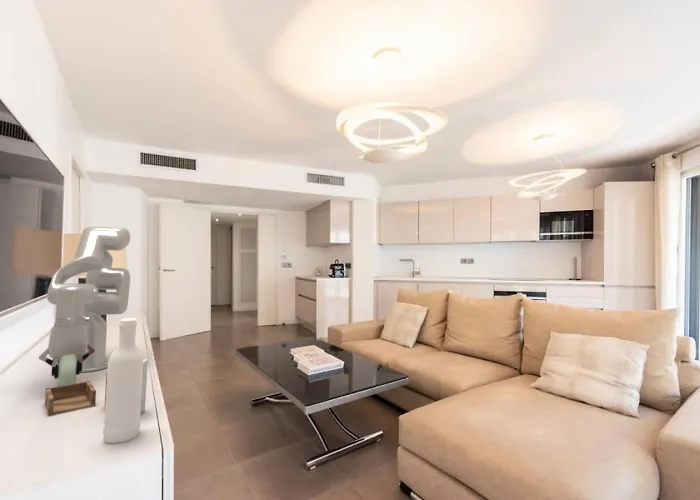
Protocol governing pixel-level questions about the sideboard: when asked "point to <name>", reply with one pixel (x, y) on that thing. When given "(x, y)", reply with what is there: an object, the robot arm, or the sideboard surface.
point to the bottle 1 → (67, 370)
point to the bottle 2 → (124, 387)
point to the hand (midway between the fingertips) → (66, 375)
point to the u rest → (69, 398)
